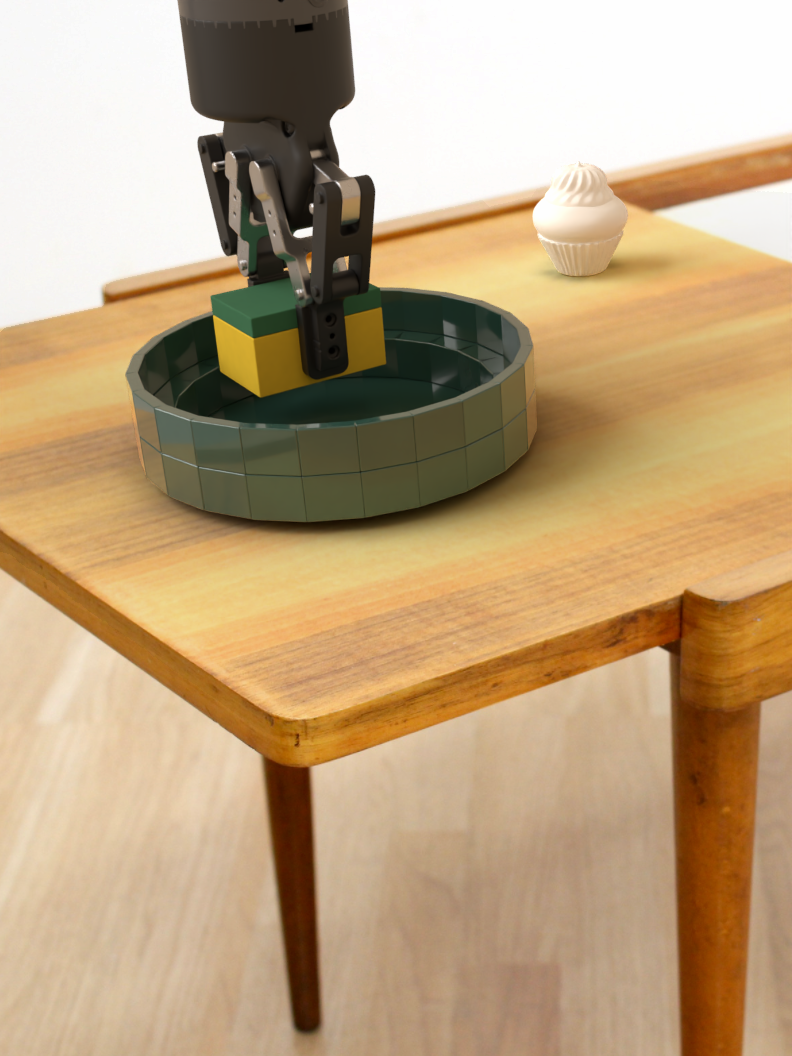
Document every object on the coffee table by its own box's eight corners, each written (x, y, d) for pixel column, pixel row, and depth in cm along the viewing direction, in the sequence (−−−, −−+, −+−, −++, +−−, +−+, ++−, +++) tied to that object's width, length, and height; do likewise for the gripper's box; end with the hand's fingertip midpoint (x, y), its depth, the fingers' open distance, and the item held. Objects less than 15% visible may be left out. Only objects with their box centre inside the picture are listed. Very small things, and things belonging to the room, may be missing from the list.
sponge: (260, 398, 74) (250, 318, 72) (219, 372, 77) (209, 295, 75) (386, 364, 78) (380, 287, 76) (342, 340, 81) (336, 266, 79)
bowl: (251, 576, 65) (235, 467, 62) (84, 437, 79) (66, 343, 76) (614, 454, 74) (613, 356, 72) (408, 349, 88) (400, 264, 86)
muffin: (517, 277, 99) (511, 168, 96) (560, 251, 104) (557, 146, 101) (604, 288, 97) (601, 176, 94) (644, 260, 102) (643, 153, 98)
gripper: (122, -7, 73) (173, 339, 81) (259, 29, 62) (302, 422, 70) (266, -24, 76) (301, 308, 84) (418, 8, 66) (442, 383, 74)
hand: (301, 358), depth 77 cm, fingers closed on sponge, 4 cm apart
